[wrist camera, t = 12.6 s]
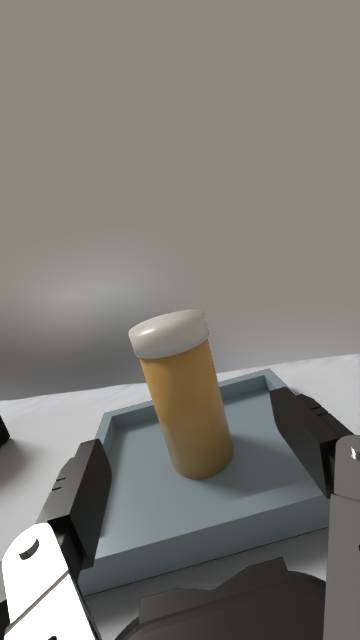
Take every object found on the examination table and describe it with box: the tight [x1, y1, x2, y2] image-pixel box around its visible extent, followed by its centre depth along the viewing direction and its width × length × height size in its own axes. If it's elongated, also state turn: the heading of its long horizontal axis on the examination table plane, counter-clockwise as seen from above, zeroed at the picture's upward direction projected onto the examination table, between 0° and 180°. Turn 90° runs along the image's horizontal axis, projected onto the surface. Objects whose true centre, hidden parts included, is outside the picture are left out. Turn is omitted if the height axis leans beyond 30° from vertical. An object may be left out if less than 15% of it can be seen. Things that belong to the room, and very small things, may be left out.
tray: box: [78, 369, 330, 596], centre depth 20 cm, size 18×14×2 cm
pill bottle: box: [129, 310, 234, 479], centre depth 19 cm, size 5×5×11 cm
